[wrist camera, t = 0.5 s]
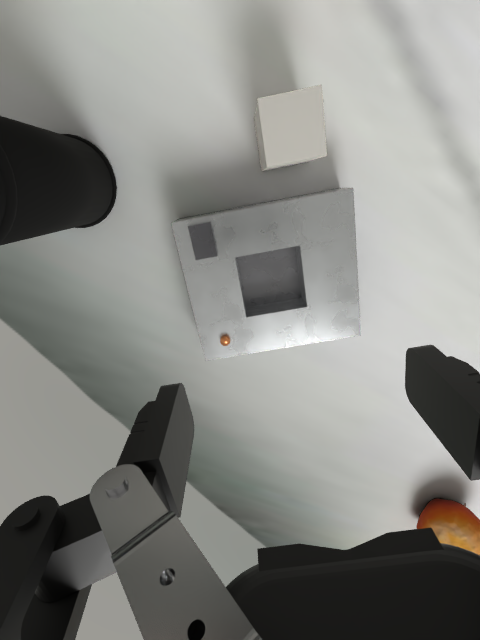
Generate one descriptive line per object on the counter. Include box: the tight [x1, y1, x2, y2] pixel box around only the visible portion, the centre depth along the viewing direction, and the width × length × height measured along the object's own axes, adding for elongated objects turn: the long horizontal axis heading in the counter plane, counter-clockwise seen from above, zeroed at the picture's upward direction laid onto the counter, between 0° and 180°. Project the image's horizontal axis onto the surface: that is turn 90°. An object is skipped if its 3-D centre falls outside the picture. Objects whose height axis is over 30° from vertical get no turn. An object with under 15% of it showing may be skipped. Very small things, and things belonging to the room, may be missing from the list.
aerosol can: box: [0, 116, 117, 245], centre depth 22 cm, size 8×8×20 cm
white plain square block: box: [254, 85, 327, 171], centre depth 27 cm, size 4×4×7 cm
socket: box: [171, 188, 361, 361], centre depth 33 cm, size 14×16×5 cm
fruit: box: [417, 498, 480, 555], centre depth 45 cm, size 8×8×8 cm
